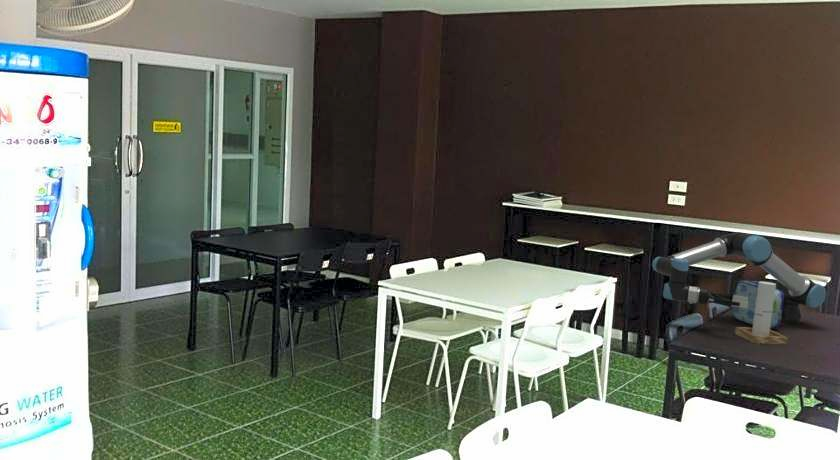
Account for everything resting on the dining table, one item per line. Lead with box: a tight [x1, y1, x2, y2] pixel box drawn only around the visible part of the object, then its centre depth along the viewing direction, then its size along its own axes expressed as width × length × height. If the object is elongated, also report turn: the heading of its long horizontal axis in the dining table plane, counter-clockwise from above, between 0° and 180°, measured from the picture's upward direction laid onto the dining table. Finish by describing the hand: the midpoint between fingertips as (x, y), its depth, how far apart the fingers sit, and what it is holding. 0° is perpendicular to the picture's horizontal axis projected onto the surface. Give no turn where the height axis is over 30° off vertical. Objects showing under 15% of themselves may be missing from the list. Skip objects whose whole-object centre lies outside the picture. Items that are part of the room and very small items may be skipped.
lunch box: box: [732, 280, 784, 330], centre depth 397 cm, size 26×11×21 cm, turn 16°
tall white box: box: [751, 281, 777, 336], centre depth 366 cm, size 7×7×25 cm
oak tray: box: [734, 326, 788, 346], centre depth 368 cm, size 16×16×3 cm
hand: (748, 302), depth 368 cm, fingers open, 13 cm apart
